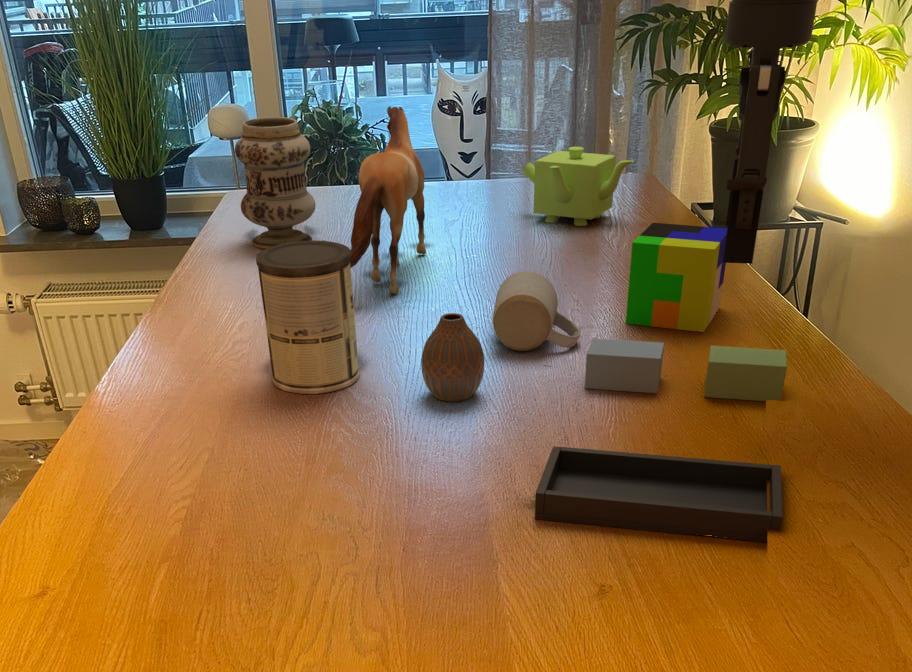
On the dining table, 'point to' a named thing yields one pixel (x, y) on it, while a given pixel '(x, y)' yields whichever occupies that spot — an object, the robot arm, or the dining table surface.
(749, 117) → the robot arm
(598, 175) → the kettle
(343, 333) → the coffee can
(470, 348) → the vase
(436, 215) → the dining table surface
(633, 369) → the grey block
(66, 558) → the dining table surface
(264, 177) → the apothecary jar
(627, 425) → the dining table surface
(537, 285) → the ceramic mug
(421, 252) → the horse figurine
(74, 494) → the dining table surface
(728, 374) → the green rectangular block
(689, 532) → the black rectangular tray
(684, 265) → the puzzle toy
